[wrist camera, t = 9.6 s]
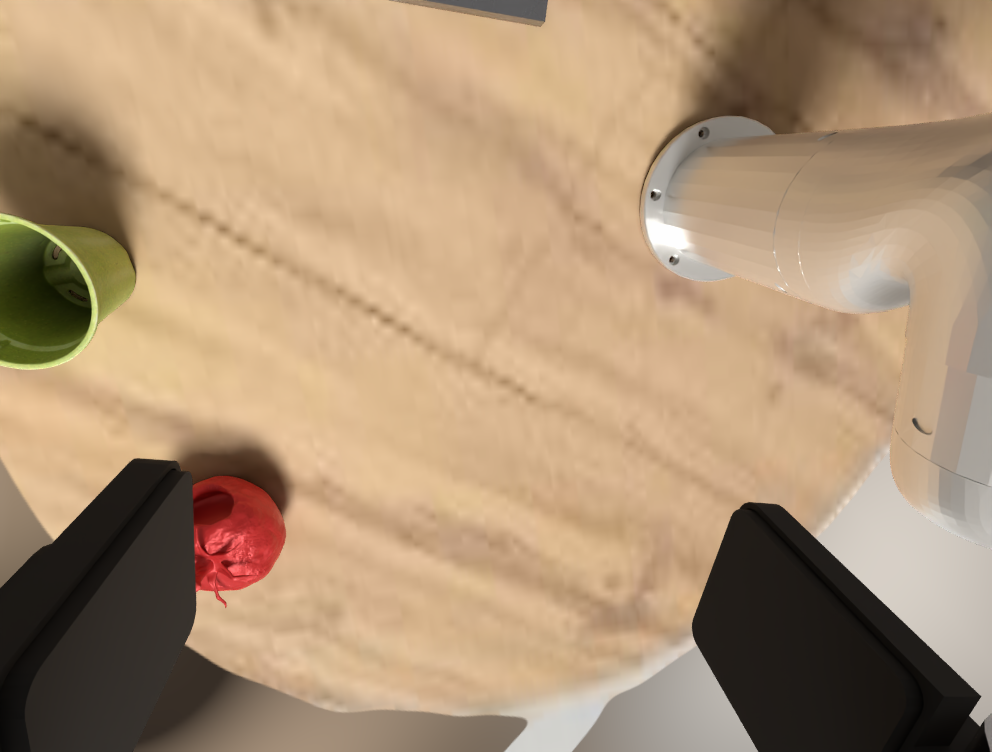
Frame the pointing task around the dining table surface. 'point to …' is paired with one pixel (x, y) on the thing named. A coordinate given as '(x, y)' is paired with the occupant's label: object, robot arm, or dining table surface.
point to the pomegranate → (234, 534)
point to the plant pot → (56, 290)
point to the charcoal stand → (492, 9)
